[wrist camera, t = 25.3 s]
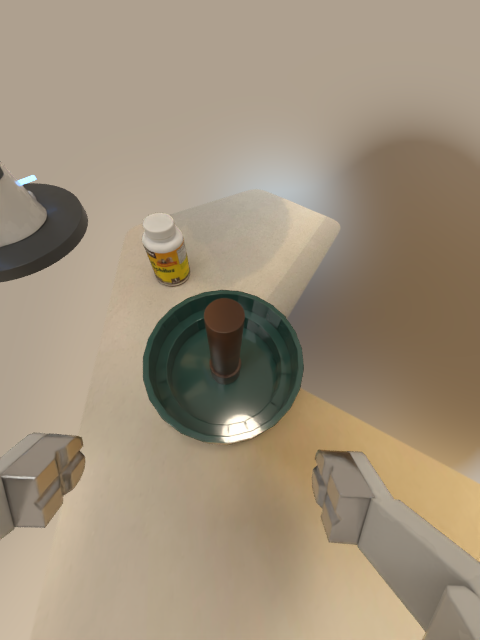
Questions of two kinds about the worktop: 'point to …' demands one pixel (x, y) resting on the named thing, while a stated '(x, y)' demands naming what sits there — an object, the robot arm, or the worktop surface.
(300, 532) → the worktop surface
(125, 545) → the worktop surface
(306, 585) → the worktop surface
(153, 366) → the bowl
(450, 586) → the robot arm
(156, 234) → the supplement bottle
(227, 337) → the brown flanged cylinder
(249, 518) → the worktop surface
